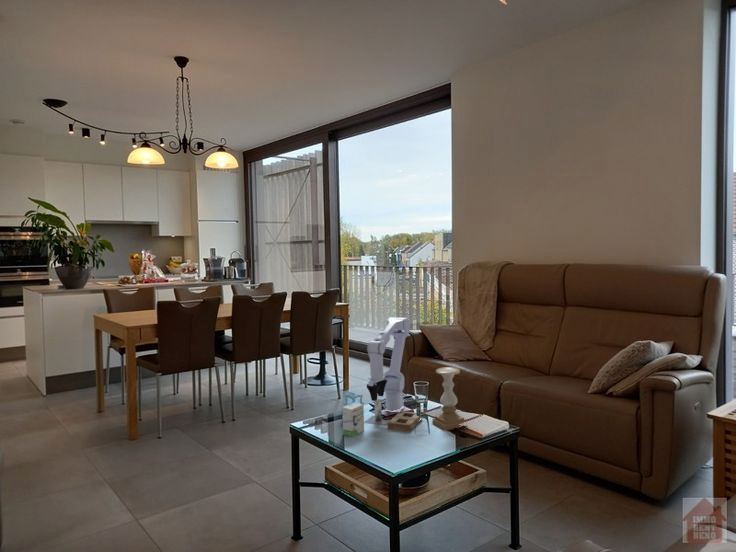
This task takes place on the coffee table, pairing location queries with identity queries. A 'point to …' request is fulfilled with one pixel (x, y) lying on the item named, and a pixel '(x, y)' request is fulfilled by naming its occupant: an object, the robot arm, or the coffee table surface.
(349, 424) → the ink box
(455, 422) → the candle holder
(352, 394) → the chair
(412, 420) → the block
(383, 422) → the mat
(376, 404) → the peg
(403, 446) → the coffee table surface
